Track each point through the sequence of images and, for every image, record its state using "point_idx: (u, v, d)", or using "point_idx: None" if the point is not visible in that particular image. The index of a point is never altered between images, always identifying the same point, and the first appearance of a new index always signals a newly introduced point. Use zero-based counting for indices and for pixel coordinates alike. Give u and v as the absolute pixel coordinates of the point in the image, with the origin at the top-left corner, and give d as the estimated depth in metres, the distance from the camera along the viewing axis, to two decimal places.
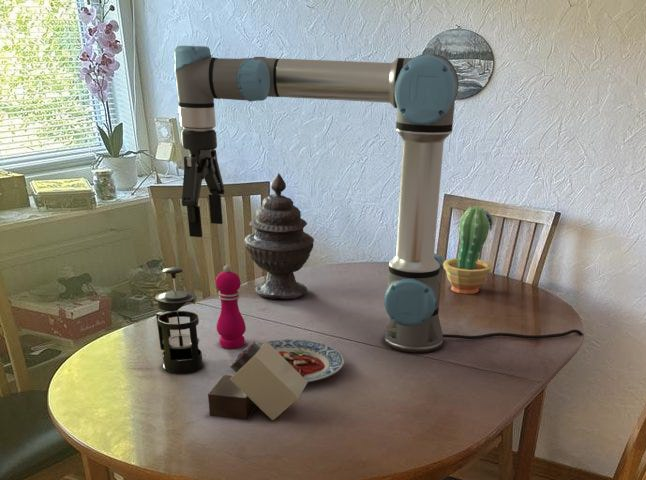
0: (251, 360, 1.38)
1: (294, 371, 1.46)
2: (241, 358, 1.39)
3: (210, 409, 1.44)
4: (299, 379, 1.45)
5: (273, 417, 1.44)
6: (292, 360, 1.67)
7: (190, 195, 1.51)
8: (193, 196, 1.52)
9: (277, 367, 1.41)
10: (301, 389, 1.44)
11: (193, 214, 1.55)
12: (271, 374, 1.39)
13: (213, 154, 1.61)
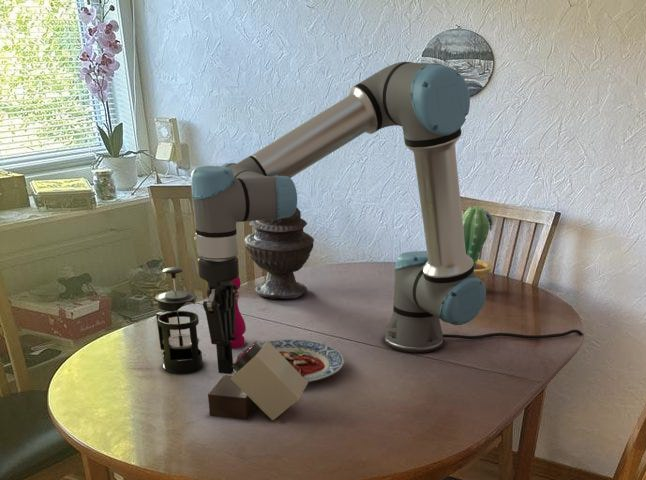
0: (252, 360, 1.38)
1: (295, 371, 1.46)
2: (242, 358, 1.39)
3: (210, 409, 1.44)
4: (299, 380, 1.45)
5: (273, 417, 1.44)
6: (292, 360, 1.67)
7: (219, 338, 1.37)
8: (222, 338, 1.37)
9: (278, 367, 1.41)
10: (302, 390, 1.44)
11: (223, 352, 1.41)
12: (272, 374, 1.39)
13: (233, 288, 1.40)
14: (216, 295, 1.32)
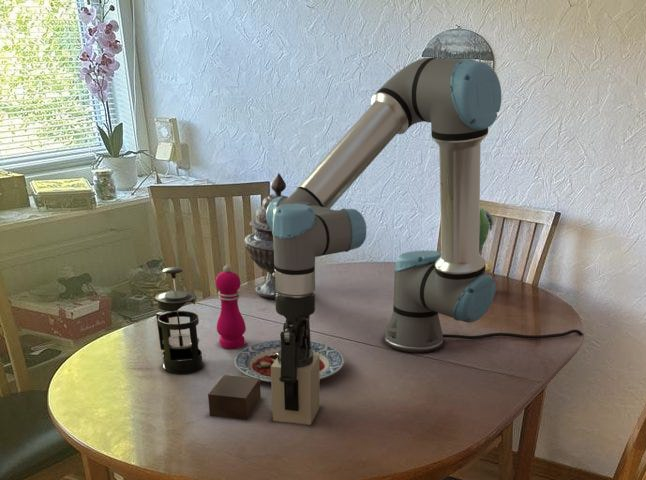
0: (303, 371, 1.37)
1: (318, 394, 1.47)
2: None
3: (210, 409, 1.44)
4: (317, 404, 1.47)
5: (276, 419, 1.44)
6: None
7: (290, 374, 1.34)
8: (293, 374, 1.35)
9: (314, 387, 1.42)
10: (314, 415, 1.46)
11: (291, 390, 1.38)
12: (308, 393, 1.40)
13: (306, 316, 1.41)
14: (294, 328, 1.33)
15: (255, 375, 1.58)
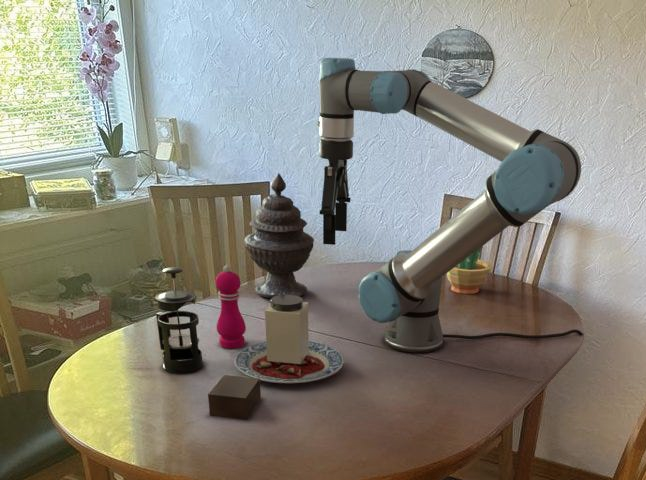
0: (293, 314, 1.56)
1: (307, 338, 1.66)
2: (287, 306, 1.56)
3: (210, 409, 1.44)
4: (306, 347, 1.66)
5: (269, 359, 1.63)
6: None
7: (330, 204, 1.54)
8: (332, 205, 1.55)
9: (303, 330, 1.61)
10: (304, 356, 1.65)
11: (330, 222, 1.58)
12: (297, 334, 1.58)
13: (344, 163, 1.64)
14: (335, 168, 1.55)
15: (255, 375, 1.58)
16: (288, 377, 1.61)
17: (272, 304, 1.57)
